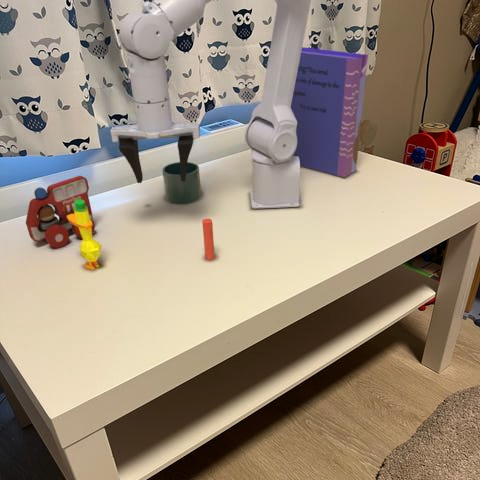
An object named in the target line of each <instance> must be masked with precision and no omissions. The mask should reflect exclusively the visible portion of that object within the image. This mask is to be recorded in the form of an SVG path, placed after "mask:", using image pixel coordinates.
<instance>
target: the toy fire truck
mask: <svg viewBox="0 0 480 480" xmlns="http://www.w3.org/2000/svg"><path fill="white" fill-rule="evenodd" d="M89 189H90V187H89V182H88V179H87V177H84V176H82V175H77V176H74V177H71V178H68V179H64V180H61V181H59V182H56V183H53V184H49V185H48V186H47V188H46V189H45V188H43V187H37V188H36V189H34V197H33V198H31V200H30V201H29V204H28V209H27V214H26V218H25V225H26V229H27V232H28V235H29V237H30V239H31V240H32V241H33V242H36V243H38V242H41V241H44V240H45V241H46V243H47V244H48V245H49V246H51V247H52V248H56V249H57V248H62V247H65V245H67V243H68V242H69V239H70V233H69V231H72V233H73V234H74V235H75V236H76V237H77V238H79V239H83V238H82V235H81V233H80V230H79V228H78V227H77V226H75V225H73V224H71V223H70V222H69V221H68V219H67V215H70V214H75V213H74V209H73V207H74V206H75V203H74V201H76V200H79V199H81V200H84V201H85V205H86V206H87V209H88V213H89V217H90V219H91V221H92V224H93V225H92V227H91V230H92V235H93V234H94V233H95V229H96V225H95V222H94V220H93V219H94V216H93V211H92V207H91V201H90V198H89Z"/></svg>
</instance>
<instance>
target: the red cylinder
mask: <svg viewBox="0 0 480 480" xmlns="http://www.w3.org/2000/svg"><path fill="white" fill-rule="evenodd" d="M201 223H202V234H203V246H204V248H203V249H204V256H205V260H207V261H212V260H214V259H215V257H216V255H215V242H214V240H215V239H214V227H213V219H212V218H203V219H202V220H201Z"/></svg>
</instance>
